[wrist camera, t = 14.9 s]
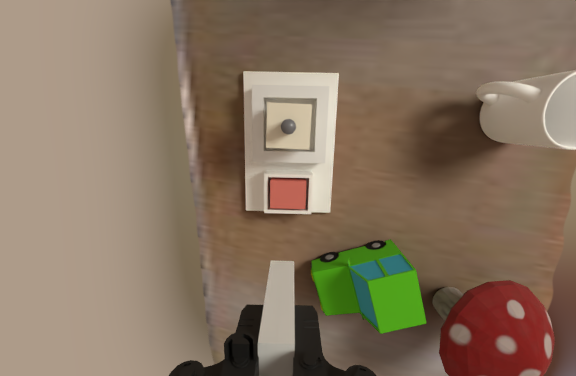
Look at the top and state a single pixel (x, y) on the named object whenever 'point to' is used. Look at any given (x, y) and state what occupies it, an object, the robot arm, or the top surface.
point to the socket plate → (290, 161)
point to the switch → (288, 193)
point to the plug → (288, 125)
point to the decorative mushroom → (494, 331)
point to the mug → (531, 111)
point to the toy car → (370, 286)
